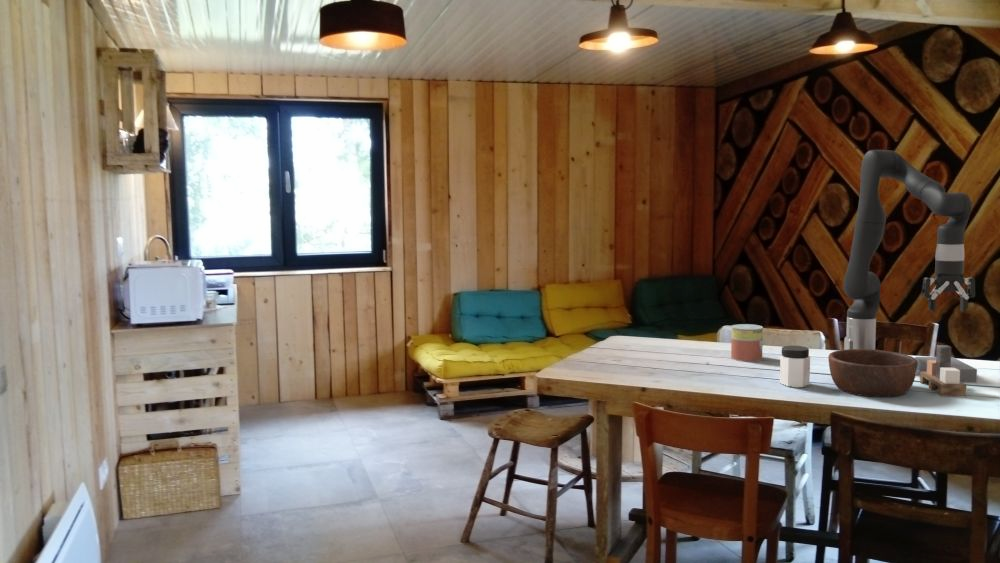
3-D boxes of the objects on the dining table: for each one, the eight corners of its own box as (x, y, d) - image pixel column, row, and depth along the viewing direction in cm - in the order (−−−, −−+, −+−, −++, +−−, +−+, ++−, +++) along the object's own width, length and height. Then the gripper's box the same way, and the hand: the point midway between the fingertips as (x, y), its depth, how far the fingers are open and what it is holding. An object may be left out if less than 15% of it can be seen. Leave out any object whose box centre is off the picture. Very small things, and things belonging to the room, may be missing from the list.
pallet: (940, 395, 226) (942, 351, 225) (920, 382, 242) (921, 340, 240) (965, 396, 225) (968, 351, 224) (943, 382, 241) (945, 341, 239)
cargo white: (945, 383, 227) (945, 370, 226) (939, 380, 231) (940, 367, 230) (959, 383, 226) (960, 370, 226) (953, 380, 230) (954, 367, 230)
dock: (935, 381, 243) (936, 368, 243) (914, 368, 261) (915, 356, 260) (976, 381, 241) (976, 369, 241) (952, 368, 259) (952, 357, 258)
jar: (788, 379, 250) (789, 344, 248) (813, 383, 244) (813, 347, 242) (775, 384, 244) (776, 348, 242) (800, 389, 238) (801, 352, 236)
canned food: (762, 362, 275) (763, 330, 274) (730, 360, 279) (730, 328, 277) (762, 355, 286) (762, 324, 284) (731, 354, 289) (731, 323, 288)
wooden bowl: (936, 395, 228) (937, 361, 226) (868, 403, 221) (869, 369, 219) (873, 376, 252) (874, 346, 250) (810, 383, 245) (811, 352, 243)
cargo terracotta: (931, 375, 237) (932, 362, 236) (926, 372, 240) (927, 360, 240) (945, 375, 236) (946, 363, 235) (940, 372, 240) (940, 360, 239)
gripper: (929, 260, 227) (927, 313, 229) (981, 259, 225) (978, 313, 226) (919, 258, 234) (917, 309, 236) (969, 257, 232) (967, 309, 234)
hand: (947, 311), depth 231 cm, fingers open, 8 cm apart
